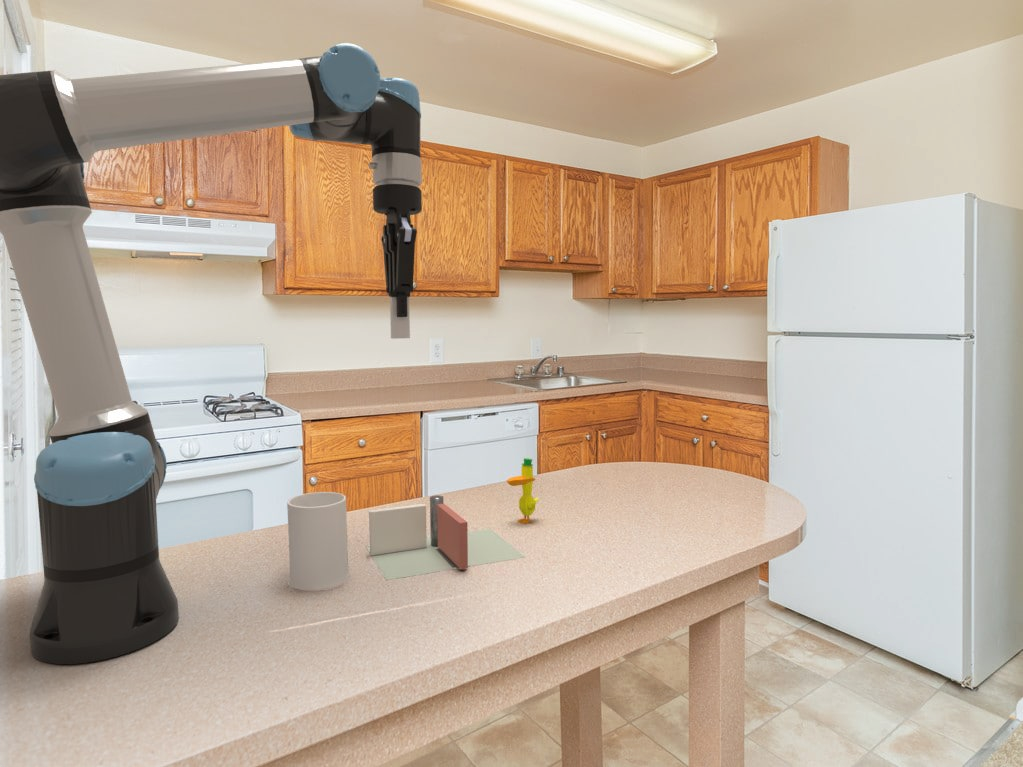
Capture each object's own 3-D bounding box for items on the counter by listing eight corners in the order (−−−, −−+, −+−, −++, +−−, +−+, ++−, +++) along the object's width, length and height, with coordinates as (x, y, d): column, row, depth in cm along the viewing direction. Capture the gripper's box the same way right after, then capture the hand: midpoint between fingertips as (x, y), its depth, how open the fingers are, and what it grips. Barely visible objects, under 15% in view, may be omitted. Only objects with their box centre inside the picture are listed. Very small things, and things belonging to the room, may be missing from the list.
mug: (273, 571, 97) (270, 492, 95) (328, 558, 102) (326, 483, 101) (300, 598, 87) (297, 511, 86) (359, 582, 93) (357, 500, 91)
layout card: (386, 582, 92) (386, 579, 92) (365, 548, 106) (365, 546, 106) (525, 558, 101) (525, 556, 101) (490, 530, 115) (490, 528, 115)
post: (432, 547, 105) (432, 499, 105) (429, 543, 107) (428, 496, 107) (445, 545, 106) (445, 498, 105) (441, 541, 108) (441, 494, 107)
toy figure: (513, 529, 115) (512, 463, 114) (502, 523, 118) (502, 459, 117) (544, 522, 119) (544, 458, 118) (533, 517, 122) (533, 455, 121)
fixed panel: (371, 555, 102) (370, 512, 101) (369, 553, 103) (368, 510, 102) (426, 547, 106) (425, 505, 105) (424, 545, 107) (423, 503, 106)
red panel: (437, 546, 105) (437, 504, 104) (444, 545, 105) (444, 503, 105) (460, 569, 95) (459, 523, 95) (467, 568, 96) (467, 522, 95)
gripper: (364, 192, 105) (368, 337, 108) (382, 176, 93) (386, 340, 96) (410, 195, 108) (412, 336, 111) (432, 180, 96) (434, 339, 99)
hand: (400, 338), depth 103 cm, fingers closed
